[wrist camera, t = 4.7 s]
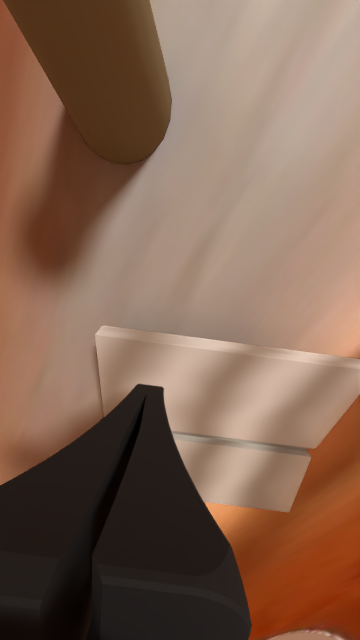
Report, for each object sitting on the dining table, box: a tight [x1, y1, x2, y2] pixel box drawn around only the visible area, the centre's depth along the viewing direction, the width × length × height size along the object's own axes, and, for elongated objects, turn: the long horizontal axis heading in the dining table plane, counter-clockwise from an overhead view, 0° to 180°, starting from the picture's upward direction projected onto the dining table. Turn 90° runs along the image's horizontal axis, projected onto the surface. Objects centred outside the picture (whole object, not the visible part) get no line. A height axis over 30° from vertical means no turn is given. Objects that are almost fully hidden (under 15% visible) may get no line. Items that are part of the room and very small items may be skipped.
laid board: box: [172, 431, 312, 512], centre depth 18 cm, size 18×8×1 cm, turn 83°
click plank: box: [95, 325, 360, 449], centre depth 15 cm, size 18×9×1 cm, turn 83°
